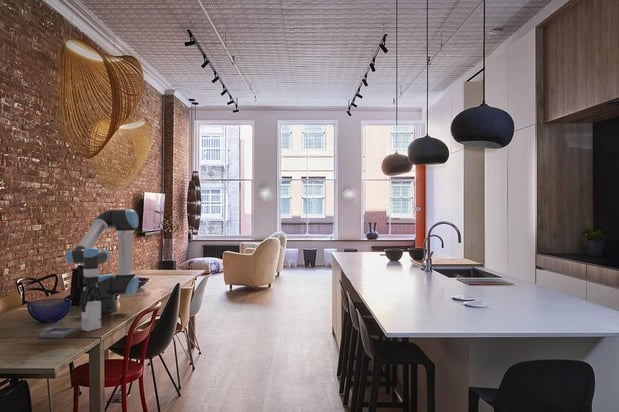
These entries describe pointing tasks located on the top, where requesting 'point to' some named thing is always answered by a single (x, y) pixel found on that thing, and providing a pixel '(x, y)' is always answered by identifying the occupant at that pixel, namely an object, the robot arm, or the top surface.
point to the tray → (57, 332)
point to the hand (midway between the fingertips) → (91, 315)
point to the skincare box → (92, 316)
